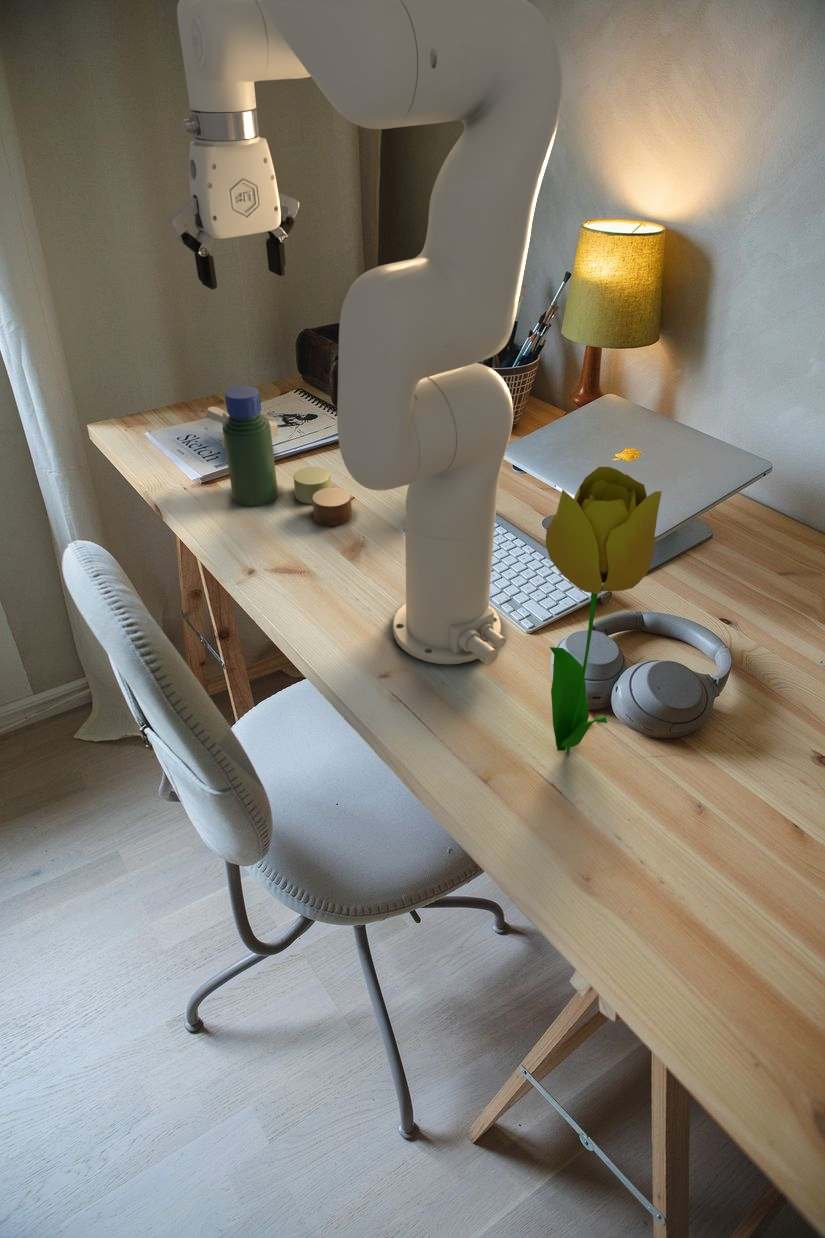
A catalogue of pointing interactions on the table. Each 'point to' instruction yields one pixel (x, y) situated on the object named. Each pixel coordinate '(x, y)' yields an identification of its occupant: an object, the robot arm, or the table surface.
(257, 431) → the bottle
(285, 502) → the table surface
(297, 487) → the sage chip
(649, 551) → the flower
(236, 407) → the cap
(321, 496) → the brown wooden puck
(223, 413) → the bunny figurine
